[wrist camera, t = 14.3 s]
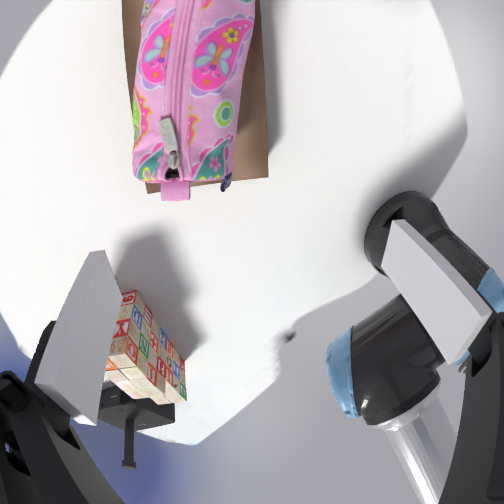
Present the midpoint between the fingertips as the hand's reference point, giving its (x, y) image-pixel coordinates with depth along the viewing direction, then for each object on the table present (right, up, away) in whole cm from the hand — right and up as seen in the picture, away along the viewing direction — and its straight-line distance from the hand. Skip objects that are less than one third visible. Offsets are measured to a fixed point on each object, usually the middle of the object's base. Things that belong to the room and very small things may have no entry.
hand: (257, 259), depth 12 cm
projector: (-32, -38, +48) cm, 69 cm away
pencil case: (-6, +18, +9) cm, 21 cm away
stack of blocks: (-19, -14, +34) cm, 42 cm away
